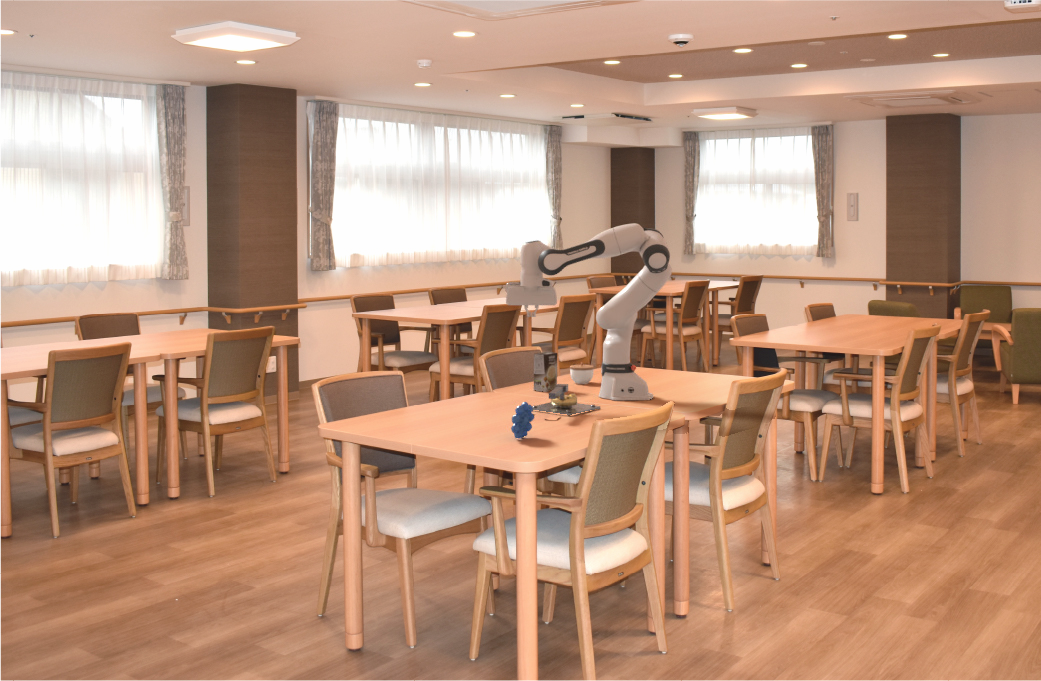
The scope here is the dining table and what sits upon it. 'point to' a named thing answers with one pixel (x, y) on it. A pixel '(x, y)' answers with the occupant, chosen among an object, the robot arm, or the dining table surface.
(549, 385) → the coffee box
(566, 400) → the lever valve
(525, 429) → the grapes
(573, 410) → the dark square board
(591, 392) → the dining table surface
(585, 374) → the lidded jar
